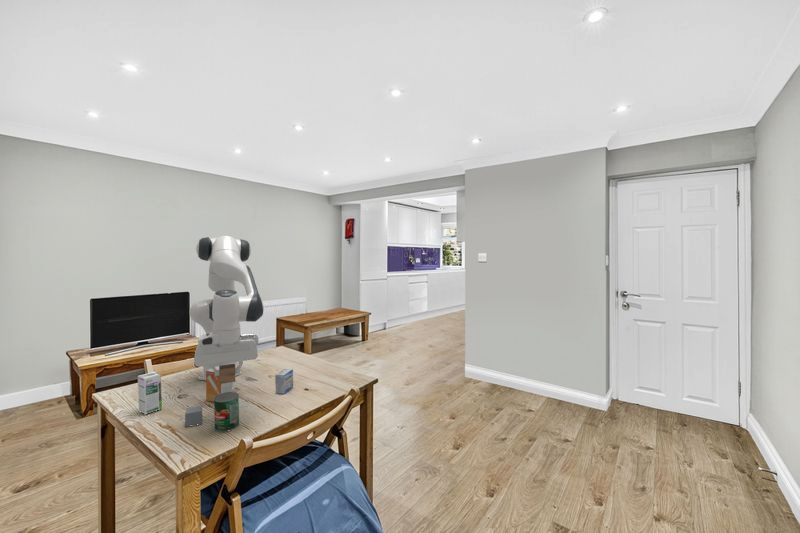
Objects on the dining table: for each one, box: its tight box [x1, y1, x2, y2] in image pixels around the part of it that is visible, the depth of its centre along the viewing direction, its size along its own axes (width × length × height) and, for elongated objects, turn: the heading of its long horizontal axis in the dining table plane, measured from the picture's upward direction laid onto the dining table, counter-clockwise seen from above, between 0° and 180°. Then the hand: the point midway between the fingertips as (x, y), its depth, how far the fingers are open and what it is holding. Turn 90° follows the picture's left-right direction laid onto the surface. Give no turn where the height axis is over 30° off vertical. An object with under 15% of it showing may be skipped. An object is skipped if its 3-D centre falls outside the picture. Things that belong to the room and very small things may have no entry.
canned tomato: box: [213, 391, 240, 433], centre depth 123 cm, size 8×8×11 cm
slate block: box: [184, 405, 203, 427], centre depth 126 cm, size 5×5×5 cm
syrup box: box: [137, 371, 163, 415], centre depth 134 cm, size 6×6×14 cm
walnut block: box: [219, 364, 236, 384], centre depth 123 cm, size 5×5×5 cm
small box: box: [205, 366, 234, 403], centre depth 145 cm, size 8×6×13 cm
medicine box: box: [274, 368, 294, 395], centre depth 155 cm, size 8×4×9 cm, turn 168°
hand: (227, 374), depth 123 cm, fingers closed on walnut block, 5 cm apart
